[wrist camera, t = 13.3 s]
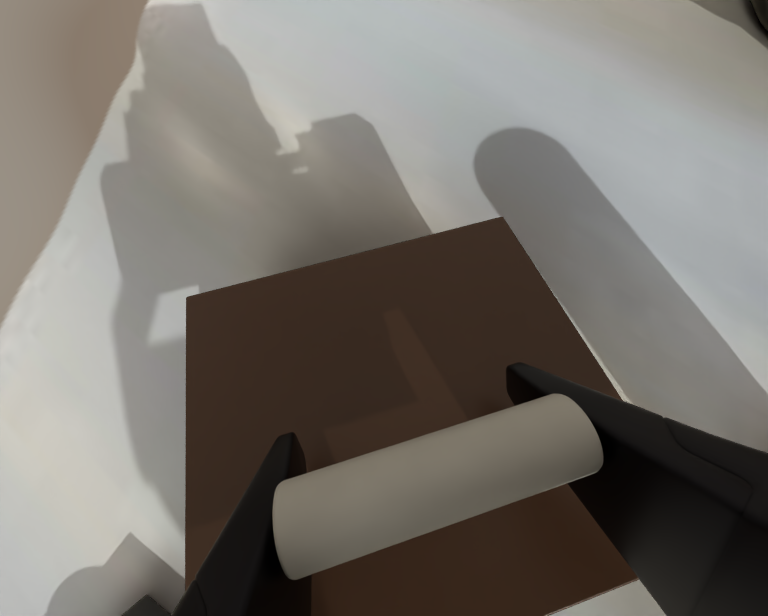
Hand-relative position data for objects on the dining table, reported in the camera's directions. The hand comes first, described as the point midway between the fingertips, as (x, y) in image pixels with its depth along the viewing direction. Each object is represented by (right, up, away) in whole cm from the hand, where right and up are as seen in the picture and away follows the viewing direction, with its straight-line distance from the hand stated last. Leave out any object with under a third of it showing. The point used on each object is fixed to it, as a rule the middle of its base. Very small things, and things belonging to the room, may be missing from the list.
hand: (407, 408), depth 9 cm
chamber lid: (0, 0, +2) cm, 2 cm away
